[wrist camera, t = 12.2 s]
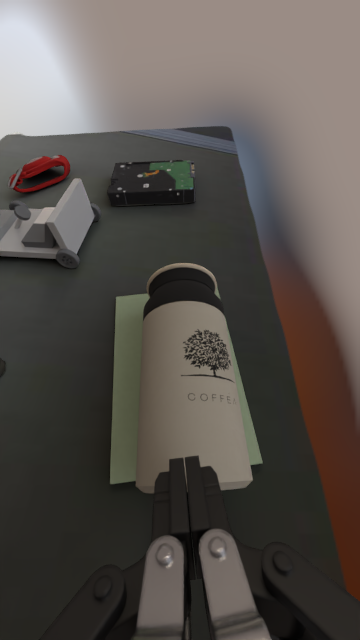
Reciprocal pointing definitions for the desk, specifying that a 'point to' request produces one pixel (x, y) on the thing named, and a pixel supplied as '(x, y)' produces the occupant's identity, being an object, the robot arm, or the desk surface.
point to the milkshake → (2, 367)
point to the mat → (129, 391)
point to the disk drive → (152, 183)
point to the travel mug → (188, 381)
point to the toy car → (49, 227)
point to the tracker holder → (36, 168)
